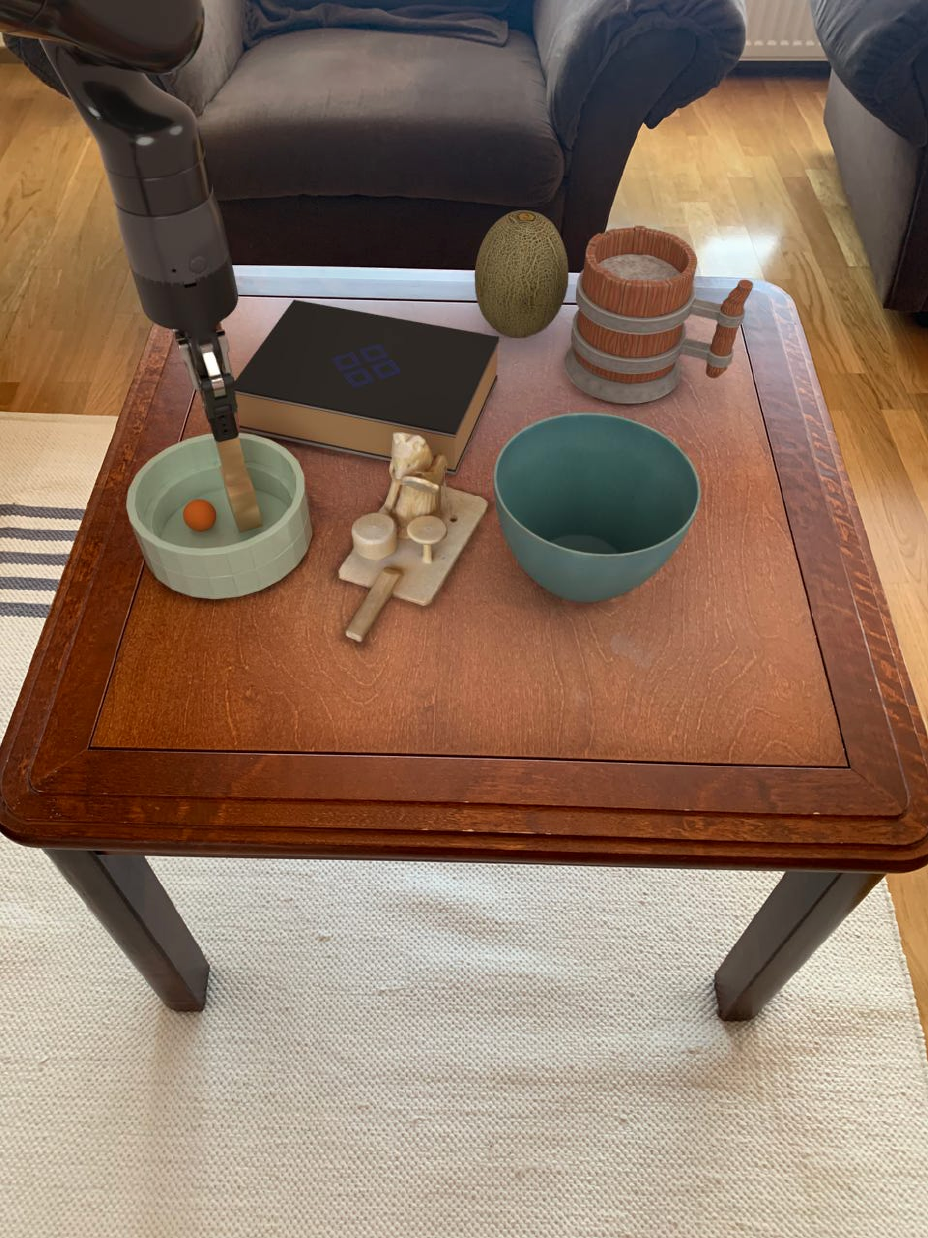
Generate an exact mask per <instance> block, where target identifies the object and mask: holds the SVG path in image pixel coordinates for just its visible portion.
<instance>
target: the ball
mask: <svg viewBox="0 0 928 1238" xmlns="http://www.w3.org/2000/svg"><path fill="white" fill-rule="evenodd" d="M183 518H184V521H185V523H186V525H187V526H188V527H189V528H190V529H192V530H194V531H199V532H201V531H206V530H208V529H210V528H211V527H212V526H213V525H214V523H215V521H216V511H215V508H214V507H213V505H212V504H211V503H209V502H208V501H206V500H202V499H196V500H193V501H191V502H189V503H188V504H187V505H186V507H185V508H184V511H183Z"/></svg>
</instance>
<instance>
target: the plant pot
mask: <svg viewBox="0 0 928 1238" xmlns="http://www.w3.org/2000/svg"><path fill="white" fill-rule="evenodd" d="M497 455H498V456H497V457H496V460H495V464H494V468H493V495H494V497H493V498H494V504H495V510H496V514H497V518H498V522H499V525H500V529H501V531H502V534H503V536H504V540H505V541H506V543H507V546H508V548H509V549H510V551H511V554H512V555H513V557H514V559H515V560H516V561H517V563H518V565H519V566H520V567H521V568H522V570H523V571H524V572H525V573H526V574H527V575H528V577H530V578H531V580H532V581H534V582H535V583H536V584H538V585H539V586H540V587H542V588H543V589H544V590H546V591H547V592H549V593H551V594H553V595H554V596H556V597H558V598H561V599H563V600H566V601H570V602H574V603H583V604H584V603H586V604H589V603H596V602H597V603H599V602H603V601H607V600H611V599H615V598H618V597H620V596H623V595H625V594H627V593H629V592H631V591H634V590H635V589H637V588H638V587H640V586H641V585H643V584H644V583H645V582H646V581H648V580H649V579H651V578H652V577H653V576H654V575H655V574H656V573H657V572H659V570H660V569H661V568H663V567H664V565H666V563H667V562H668V561H669V559H671V557H672V556H673V555H674V554H675V553H676V551H677V549H678V548H679V547H680V545H681V544H682V542H683V540H684V539H685V538H686V535H687V534H688V532H689V530H690V528H691V526H692V524H693V522H694V520H695V517H696V515H697V512H698V509H699V505H700V501H701V494H702V493H701V489H702V488H701V482H700V478H699V475H698V472H697V470H696V468H695V466H694V464H693V462H692V461H691V459H690V458H689V456H688V455H687V454H686V453H685V451H684V450H683V449H681V447H679V446H678V444H676V442H674V441H673V440H672V439H671V438H669V437H668V436H667V435H665V434H663V433H662V432H660V431H659V430H657V429H655V428H653V427H652V426H650V425H647V424H645V423H642V422H639V421H637V420H633V419H631V418H628V417H623V416H620V415H614V414H610V413H603V412H602V413H600V412H572V413H563V414H558V415H553V416H549V417H546V418H543V419H540V420H537V421H535V422H533V423H531V424H529V425H528V426H525V427H523V428H522V429H521V430H519V431H517V432H516V433H515V434H514V435H512V437H510V438H509V439H508V440H507V442H506V443H505V444H504V445H503V447H502V448H501V450H500V451H499V454H497Z"/></svg>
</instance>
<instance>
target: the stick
mask: <svg viewBox="0 0 928 1238" xmlns="http://www.w3.org/2000/svg"><path fill="white" fill-rule="evenodd" d="M215 443H216V447H217V450H218V454H219V458H220V462H221V465H222V466H219V469H220V473H221V477H222V480H223V484H224V488H225V492H226V495H227V499H228V503H229V506H230V508H231V511H232V514H233V517H234V520H235V523H236V525H237V528H238V531H239V533H241V532H244V531H248V530H251V529H255V528H259V527H262V526H263V524H262V520H261V516H260V512H259V507H258V503H257V499H256V494H255V490H254V487H253V485H252V482H251V480H250V477H249V474H248V472H247V469H246V467H245V462H244V458H243V454H242V450H241V445H240V441H239V437H237V438H235V439H231V440H227V441H223V442H216V441H215Z"/></svg>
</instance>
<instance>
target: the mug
mask: <svg viewBox="0 0 928 1238" xmlns="http://www.w3.org/2000/svg"><path fill="white" fill-rule="evenodd" d="M697 267H698V256H697V255H696V252H695V251H694V249H693V248H692V247H691V246H690V244H688V243H687V242H686V241H685V240H684V239H683V238H681V237H679V236H678V235H675V234H673V233H670V232H666V231H662V230H659V229H655V228H648V227H646V225H639V224H638V225H636V224H635V225H634V226H633V227H632V226H631V227H621V228H615V227H614V228H611V229H606V230H605V232H603V233H600V232H598V233H597V234H595V235H594V236H592V237H591V239H589V241H588V244H587V247H586V249H585V257H584V265H583V269H582V270H581V271H580V273H579V275H578V276H577V279H576V289H575V302H576V306H577V307H578V309H577V311H576V312H575V313H574V316H573V318H572V324H571V330H570V331H571V332H570V340H571V343H572V345H570V347H569V348H568V350H567V351H566V353H565V356H564V359H563V368H564V370H565V374H566V375H567V377H568V378H569V381H571V382H572V383H573V385H574V386H576V387H577V388H578V389H579V390H581V391H582V392H583V393H585V394H586V395H589V396H590V397H593V398H595V399H597V400H600V401H603V402H605V403H610V404H616V405H640V404H645V403H650V402H652V401H655V400H658V399H660V398H663V397H664V396H666V395H667V394H669V393H671V392H672V391H673V390H674V389H675V388H676V387H677V385H678V384H679V382H680V381H681V377H682V365H681V363H680V360H679V358H680V357H681V355H683V356H687V357H691V358H695V359H699V360H703V361H706V368H705V374H706V377H708V378H711V379H717V378H719V377H720V376H722V375H723V374H724V373H725V372H726V371H727V370H728V367H730V366H731V364H732V362H733V359H734V348H733V346H734V343H735V341H736V337H737V332H738V330H739V328H740V326H741V325H742V324H743V323H744V318H745V316H746V309H745V307H744V306H745V303H746V301H747V299H748V298H749V296H750V294H751V292H752V290H753V289H754V283H753V282H752V281H751V280H749V279H745V278H744V279H740V280H739V281H738V282H737V285H736V287H734V288H733V289H732V290H731V291H730V292H729V293H728V296H727V297H726V298H724V300H723V301H722V303H719V302H714V301H711V300H705V299H700V298H697V297H696V295H697V292H696V291H697V290H696V285H695V284H694V281H695V275H696V270H697ZM690 316H695V317H699V318H705V319H707V320H713V321H716V326H715V331H714V334H713V337H712V340H711V343H708V342H704V341H700V340H696V339H692V338H688V337H687V326H686V323H685V322H686V321H687V320H688V319H689V318H690Z"/></svg>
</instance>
